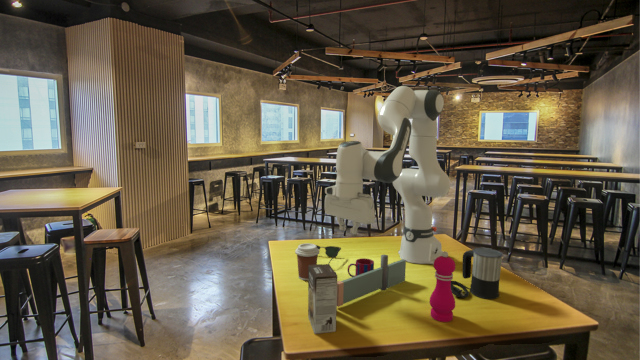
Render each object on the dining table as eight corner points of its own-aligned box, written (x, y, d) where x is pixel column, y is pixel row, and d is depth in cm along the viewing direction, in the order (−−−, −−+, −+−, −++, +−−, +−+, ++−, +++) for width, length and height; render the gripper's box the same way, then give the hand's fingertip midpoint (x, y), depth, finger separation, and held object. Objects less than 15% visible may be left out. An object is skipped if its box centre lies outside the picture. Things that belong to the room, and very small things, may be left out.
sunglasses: (293, 267, 144) (293, 255, 144) (305, 254, 161) (305, 243, 160) (332, 272, 140) (333, 259, 140) (341, 257, 157) (341, 246, 156)
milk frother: (503, 294, 122) (507, 252, 120) (485, 309, 111) (488, 263, 109) (463, 281, 132) (465, 242, 130) (442, 294, 121) (445, 252, 119)
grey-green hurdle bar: (378, 286, 124) (379, 266, 123) (382, 288, 123) (383, 268, 122) (334, 304, 111) (334, 282, 110) (338, 306, 109) (338, 284, 108)
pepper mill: (430, 309, 111) (433, 246, 108) (454, 313, 108) (459, 249, 105) (427, 319, 104) (431, 253, 101) (453, 325, 101) (458, 257, 99)
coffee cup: (316, 271, 140) (316, 241, 138) (321, 280, 131) (322, 249, 129) (293, 273, 138) (293, 243, 136) (296, 282, 129) (297, 250, 127)
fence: (400, 279, 133) (402, 248, 132) (406, 281, 131) (407, 249, 130) (326, 310, 109) (326, 272, 107) (331, 313, 107) (331, 275, 106)
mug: (375, 282, 130) (376, 264, 130) (349, 283, 129) (349, 265, 128) (370, 275, 137) (370, 257, 136) (344, 276, 135) (345, 259, 134)
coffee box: (307, 317, 105) (307, 264, 102) (328, 315, 106) (329, 263, 104) (313, 334, 96) (314, 276, 94) (336, 331, 97) (338, 274, 95)
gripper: (380, 194, 111) (378, 237, 113) (335, 186, 127) (334, 224, 128) (366, 196, 107) (365, 241, 109) (321, 188, 122) (321, 227, 124)
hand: (348, 232), depth 119 cm, fingers open, 4 cm apart
